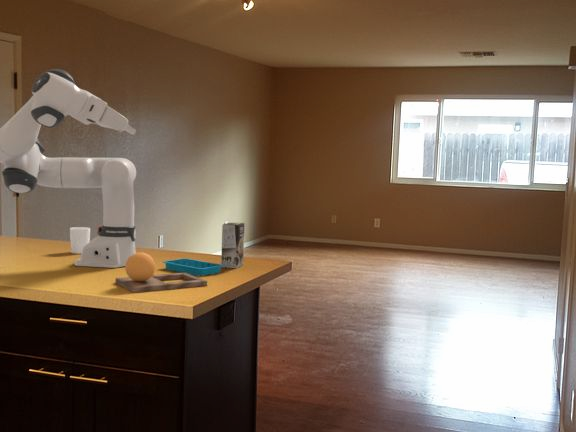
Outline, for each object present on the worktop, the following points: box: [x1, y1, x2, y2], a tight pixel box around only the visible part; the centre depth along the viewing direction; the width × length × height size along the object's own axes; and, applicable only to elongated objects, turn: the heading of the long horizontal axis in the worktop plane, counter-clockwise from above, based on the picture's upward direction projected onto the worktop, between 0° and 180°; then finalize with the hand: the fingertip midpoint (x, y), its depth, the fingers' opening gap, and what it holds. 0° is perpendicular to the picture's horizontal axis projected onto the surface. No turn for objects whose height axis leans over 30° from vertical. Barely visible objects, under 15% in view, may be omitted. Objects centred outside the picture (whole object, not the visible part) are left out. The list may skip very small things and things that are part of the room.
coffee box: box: [220, 222, 245, 269], centre depth 236 cm, size 9×6×16 cm
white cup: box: [69, 226, 91, 255], centre depth 256 cm, size 8×8×10 cm
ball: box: [124, 251, 156, 282], centre depth 195 cm, size 9×9×9 cm
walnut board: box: [114, 272, 208, 293], centre depth 199 cm, size 24×16×2 cm, turn 124°
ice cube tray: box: [162, 257, 223, 277], centre depth 225 cm, size 12×20×3 cm, turn 53°
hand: (128, 131), depth 195 cm, fingers open, 8 cm apart
